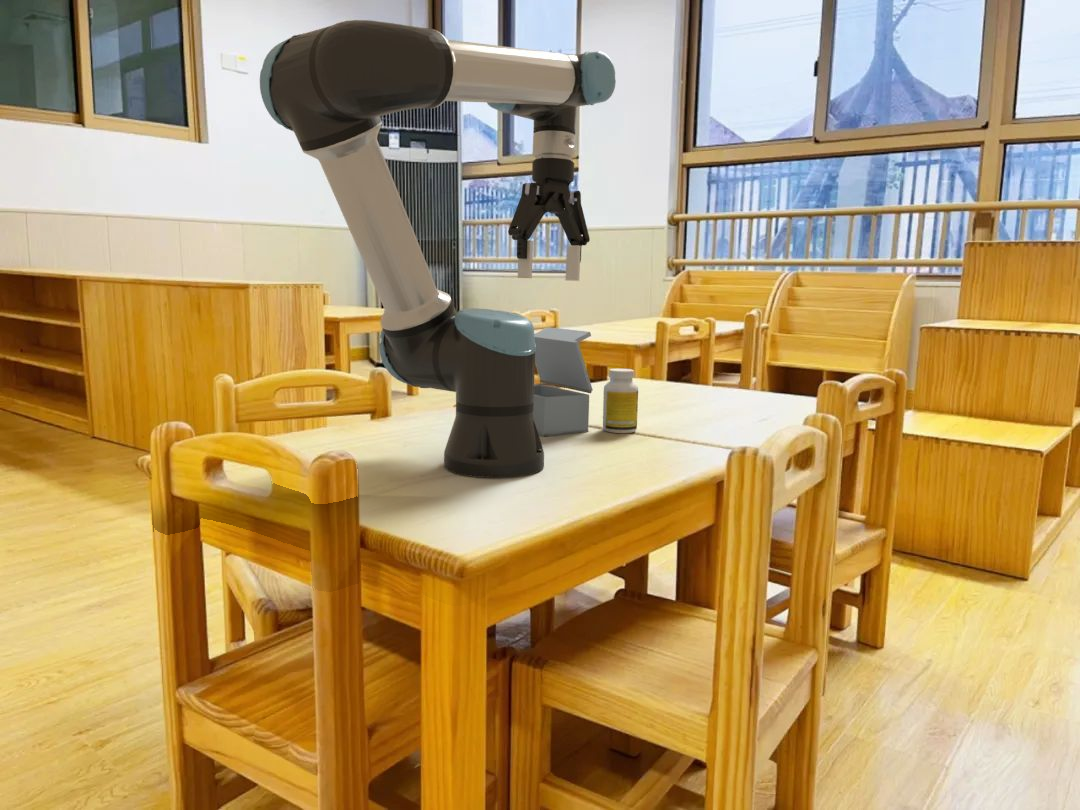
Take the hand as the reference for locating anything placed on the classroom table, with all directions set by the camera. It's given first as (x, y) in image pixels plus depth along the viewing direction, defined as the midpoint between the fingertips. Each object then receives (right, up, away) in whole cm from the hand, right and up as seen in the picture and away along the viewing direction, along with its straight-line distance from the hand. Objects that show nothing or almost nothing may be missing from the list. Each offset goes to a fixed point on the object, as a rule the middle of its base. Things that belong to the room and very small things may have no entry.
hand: (549, 279), depth 148 cm
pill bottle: (+13, -28, +5) cm, 31 cm away
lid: (+1, -15, +7) cm, 17 cm away
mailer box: (-1, -27, +8) cm, 28 cm away
